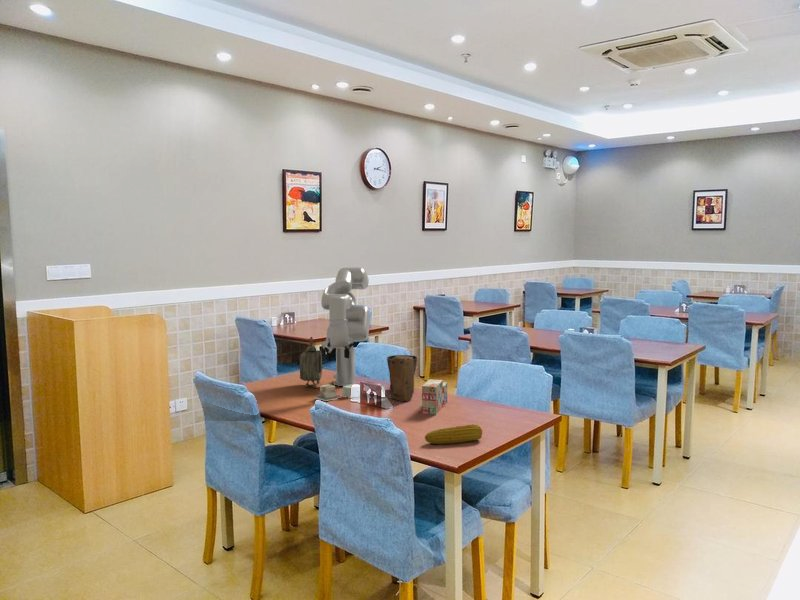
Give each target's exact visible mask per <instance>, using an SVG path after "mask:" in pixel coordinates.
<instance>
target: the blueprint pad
mask: <svg viewBox="0 0 800 600" xmlns="http://www.w3.org/2000/svg"><path fill="white" fill-rule="evenodd" d="M314 397H315V399H316V398H319V399H317V400H319V401H321V400H323V401H322V402H324V400H325V401H328V400H331V399H337V398H340V399H341V395H340V394H336V393H335V396H333V397H329V398H325V397H321V396H320V394H317V395H315V396H314Z"/></svg>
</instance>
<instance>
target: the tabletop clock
mask: <svg viewBox="0 0 800 600" xmlns="http://www.w3.org/2000/svg"><path fill="white" fill-rule="evenodd" d="M313 341H314V339H313V337H312V336H310V338H309V346H307V348H306V349H305V351H303V352H302V353H301V354H300V356H299V378H300V380H302V381H304V382H307V383H305V386H306V387H309V386H310V384H309V382H311V383H312V385H313V389H314V388H315V389H314V390H316V389H317V385H316V384H317V383H319V384H320V382H321V381H320V380H321V378H322V375H323V359H322V358H323V357H322V355H323V354H322V350H317V348H316V347H315V346H313V344H314V343H313ZM315 382H316V384H315Z"/></svg>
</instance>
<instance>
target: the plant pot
mask: <svg viewBox="0 0 800 600" xmlns="http://www.w3.org/2000/svg"><path fill="white" fill-rule="evenodd" d="M398 355H399V354H396V355H395V354H394V355H389V356H386V361H387V367H388V368H387V369H388V372H389V373H388V374H390V362H391V360H392V358H394V357H395V356H398ZM404 355H405V356H409V357H412V358H413V362H414V376H415V375H416V369H417V363H418V357H417V356H415V355H411V354H404Z"/></svg>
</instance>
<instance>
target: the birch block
mask: <svg viewBox="0 0 800 600" xmlns="http://www.w3.org/2000/svg"><path fill="white" fill-rule="evenodd" d="M335 394H336V386H335V385H334V384H333V385H332V384H328V383H327V384H324V385H319V395H320V396H321V397H325V398H329V397H333V396H335Z"/></svg>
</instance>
